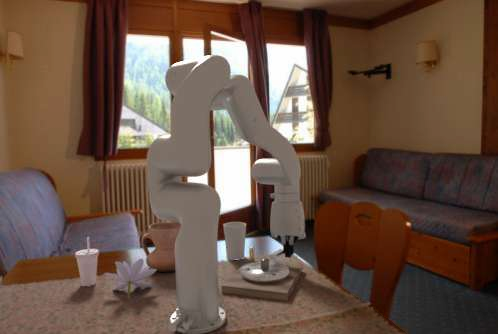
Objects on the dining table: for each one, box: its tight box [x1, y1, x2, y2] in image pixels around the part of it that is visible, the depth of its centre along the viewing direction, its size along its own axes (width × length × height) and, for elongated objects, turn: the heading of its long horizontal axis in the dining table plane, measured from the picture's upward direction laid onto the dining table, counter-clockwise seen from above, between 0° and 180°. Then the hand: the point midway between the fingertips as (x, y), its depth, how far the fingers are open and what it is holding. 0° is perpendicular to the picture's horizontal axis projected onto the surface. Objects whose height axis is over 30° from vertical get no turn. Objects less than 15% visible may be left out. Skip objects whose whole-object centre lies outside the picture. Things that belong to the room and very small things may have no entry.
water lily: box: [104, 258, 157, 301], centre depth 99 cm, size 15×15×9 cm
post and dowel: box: [248, 246, 270, 270], centre depth 111 cm, size 12×2×6 cm, turn 24°
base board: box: [221, 259, 304, 302], centre depth 107 cm, size 22×18×2 cm
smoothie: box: [74, 236, 100, 287], centre depth 107 cm, size 6×6×14 cm
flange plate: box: [241, 248, 289, 284], centre depth 108 cm, size 18×14×4 cm
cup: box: [222, 221, 247, 261], centre depth 129 cm, size 8×8×12 cm
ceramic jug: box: [140, 221, 181, 273], centre depth 120 cm, size 18×14×14 cm
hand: (288, 256), depth 114 cm, fingers closed
